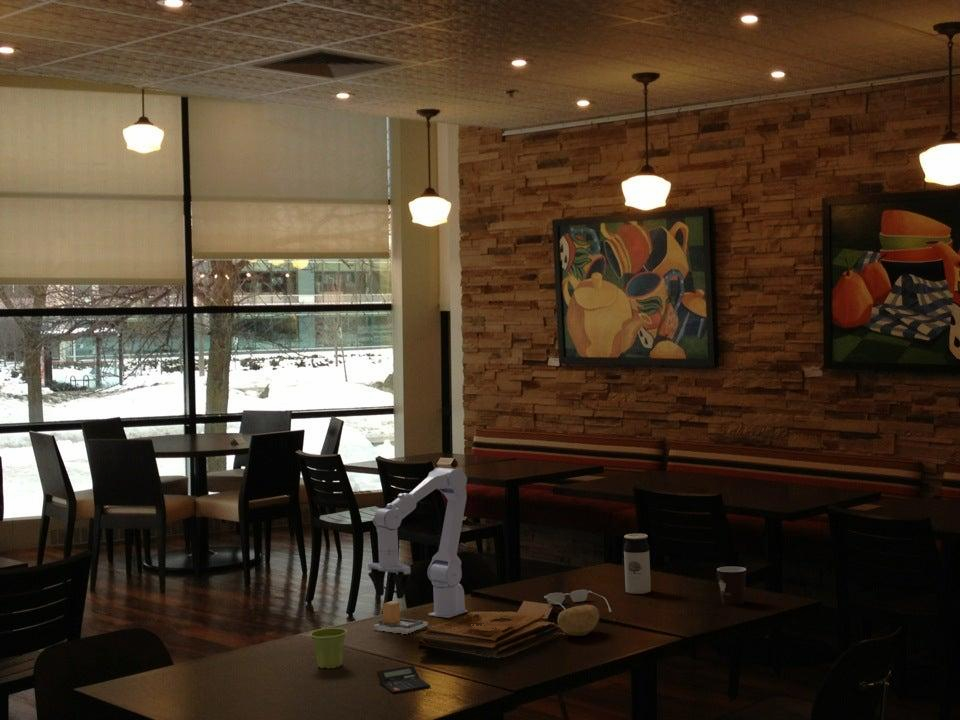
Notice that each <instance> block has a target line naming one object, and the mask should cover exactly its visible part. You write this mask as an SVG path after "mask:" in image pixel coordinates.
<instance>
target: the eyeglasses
mask: <svg viewBox="0 0 960 720" xmlns="http://www.w3.org/2000/svg"><path fill="white" fill-rule="evenodd" d="M589 593H590V594H594V595H597V596H598V597H601V598H603V599H604V600H605V602H606V604H607V607H608V612H609V613H612V608H611V607H610V604H609V602H608V600H607V599H606V598H605V597H604V596H602V595H600V594H597V593H595V592H592V590H588V589H577V590H573V591H571V592H570V593H568V592H567V593H563V592H553V593H548V594H547V595H544V596H543V597H544V599H546V601H547V603H548V604H549V605H550V604H554V605H560V606H561V607H562V608H563V610H565V609H566V608H565V606H563V605H562V604H563V602H564V601H565V599H566V596H568V595H569V597H570V598H571V601H572V602H573V603H578V602H585V601H586V600H587V597H588V595H589Z"/></svg>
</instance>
